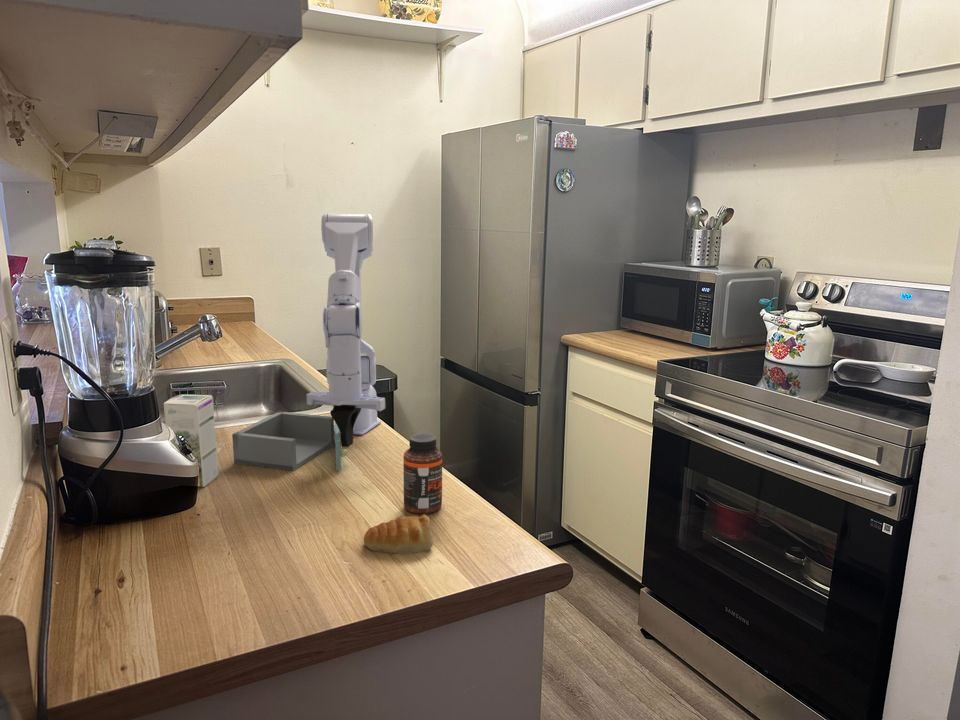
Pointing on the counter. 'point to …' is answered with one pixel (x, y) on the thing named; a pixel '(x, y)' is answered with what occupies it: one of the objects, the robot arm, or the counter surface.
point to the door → (338, 448)
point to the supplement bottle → (422, 475)
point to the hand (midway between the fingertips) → (347, 445)
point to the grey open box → (283, 440)
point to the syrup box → (195, 430)
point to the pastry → (401, 535)
